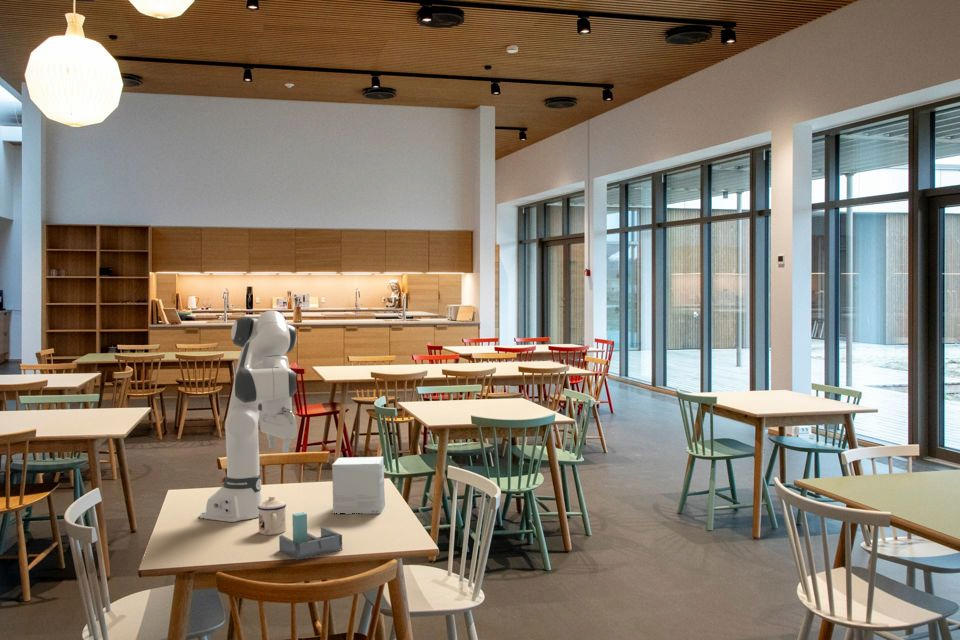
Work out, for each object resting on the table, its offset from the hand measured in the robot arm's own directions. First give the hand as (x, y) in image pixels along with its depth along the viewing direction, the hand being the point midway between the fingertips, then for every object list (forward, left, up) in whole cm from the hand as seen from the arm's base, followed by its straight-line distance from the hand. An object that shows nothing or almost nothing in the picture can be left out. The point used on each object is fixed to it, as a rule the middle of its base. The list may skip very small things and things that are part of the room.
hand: (279, 450), depth 257 cm
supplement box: (+11, +41, -30) cm, 52 cm away
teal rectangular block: (+11, -9, -28) cm, 31 cm away
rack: (+13, -6, -29) cm, 32 cm away
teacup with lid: (-7, +9, -29) cm, 32 cm away
